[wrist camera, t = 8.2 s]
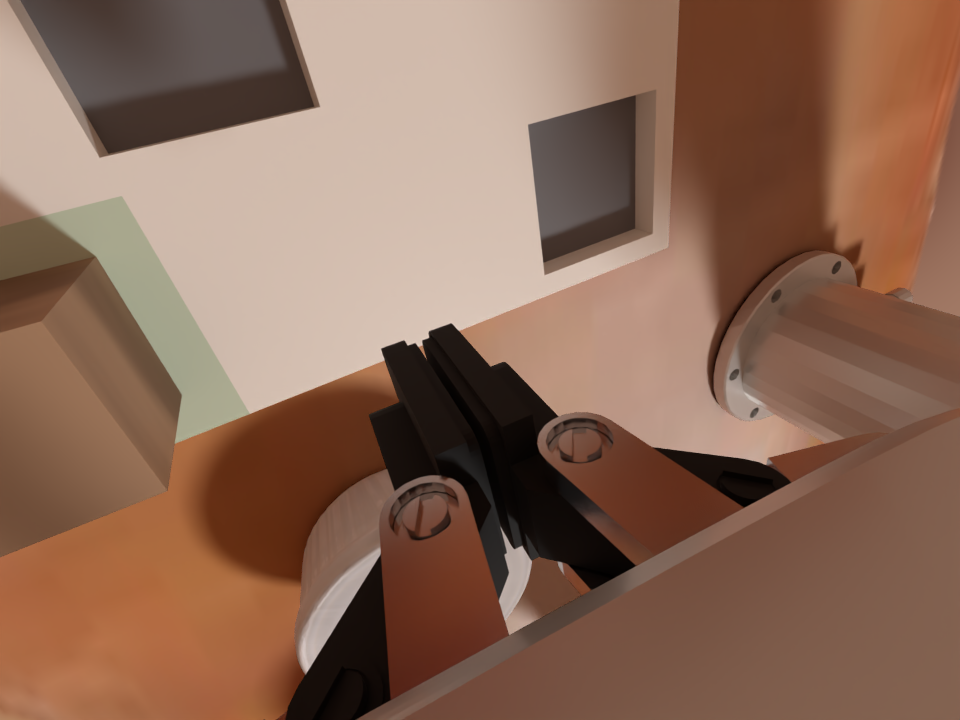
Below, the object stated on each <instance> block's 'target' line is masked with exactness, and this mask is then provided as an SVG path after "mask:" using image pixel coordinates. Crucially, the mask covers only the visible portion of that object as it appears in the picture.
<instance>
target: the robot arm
mask: <svg viewBox="0 0 960 720" xmlns="http://www.w3.org/2000/svg"><path fill="white" fill-rule="evenodd" d="M912 301H913V295H912V293H911V292H910V291H909V290H907V289H905V288H897V289H894V290H892V291H890V292H888V293H886V294H881V293H878V292H874V291H871V290H867V289H864V288H861V287H857V279H856V273H855V270H854V268H853V266H852V264H851V262H849V261H848V260H847V259H846V258H845V257H844V256H841V255H838V254H834V253H831V252H827V251H819V250H815V251H810V252H805V253H803V254H800V255H798V256H796V257H794V258H791V259H790V260H788V261H787V262H785V263H784V264H782V265H781V266H779V267H778V268H776V269H775V270H774V271H773V272H772V273H771V274H770V275H768V276H767V277H766V278H765V279H764V280H763V281H762V282H761V283H760V284H759V285H758V286H757V287H756V289H755V290H754V291H753V292H752V293H751V294H750V295H749V297H748V298H747V299H746V301H745V302H744V304H743V305H742V306H741V308H740V309H739V310H738V312H737V314H736V315H735V317H734V319H733V321H732V322H731V324H730V326H729V328H728V330H727V332H726V334H725V337H724V339H723V341H722V343H721V346H720V349H719V352H718V356H717V359H716V364H715V370H714V392H715V396H716V400H717V401H718V403H719V405H720V406H721V408H722V409H724V410H725V411H726V412H728V413H729V414H731V415H732V416H734V417H736V418H738V419H740V420H743V421H755V420H761V419H764V418H766V417H769V416H772V415H774V414H775V415H777V416H779V417H780V418H782V419H784V420H786V421H787V422H789V423H791V424H793V425H794V426H796V427H798V428H800V429H801V430H803V431H805V432H807V433H808V434H810V435H812V436H814V437H815V438H817V439H819V440H821V441H823V442H824V443H825V444H821V445H817V446H813V447H809V448H806V449H802V450H798V451H794V452H790V453H786V454H782V455H778V456H774V457H770V458H768V460H767V465H764V464H762V463H759V462H755V461H751V460H746V459H740V458H732V457H725V456H717V455H709V454H701V453H693V452H685V451H677V450H670V449H662V448H654V447H651V446H649V445H648V444H646V443H645V442H643V441H642V440H640V439H639V438H637V437H636V436H634V435H633V434H631V433H630V432H628V431H626V430H625V429H623V428H622V427H620V426H619V425H617V424H616V423H614V422H613V421H611V420H609V419H607V418H605V417H603V416H601V415H597V414H593V413H587V412H575V413H570V414H565V415H562V416H559V417H558V416H557V414H556V413H555V412H554V411H553V410H552V409H551V408H550V407H549V406H548V405H547V404H546V403H545V402H544V401H543V400H542V399H541V398H540V397H539V396H538V395H537V394H536V393H535V392H534V391H533V390H532V389H531V388H530V387H529V385H528V384H527V383H526V382H525V381H524V380H523V379H522V378H521V377H520V376H519V375H518V374H517V373H516V372H515V371H514V370H513V369H512V368H511V367H510V366H509V365H508V364H507V363H506V362H502V363H499V364H496V365H494V366H491V367H490V366H489V365H488V363H487V362H486V361H485V360H484V359H483V358H482V357H481V356H480V354H479V353H478V352H477V351H476V350H475V349H474V348H473V346H472V345H471V344H470V343H469V342H468V341H467V340H466V339H465V337H464V336H463V335H462V334H461V333H460V332H459V331H458V330H457V328H456V327H455V326H454V325H453V324H452V323H450V324H448V325H445V326H442V327H439V328H436V329H434V330H431V331H429V333H428V334H429V338H427V339H424V340H422V344H423V348H424V351H425V355H426V358H427V359H426V358H425V356H424V355H423V353H422V352H421V350H420V349H419V347H418V346H417V344H416V343H413V344H411V345H407V344H406V342H405V341H404V340H403V341H400V342H398V343H395V344H392V345H389V346H386V347H384V348H381V351H382V354H383V357H384V360H385V363H386V365H387V368H388V371H389V374H390V377H391V379H392V382H393V385H394V388H395V391H396V394H397V396H398V399H399V403H397V404H394V405H392V406H389V407H387V408H384V409H381V410H379V411H376V412H374V413H371V414H369V417H370V420H371V423H372V426H373V429H374V432H375V435H376V438H377V441H378V444H379V447H380V450H381V453H382V456H383V459H384V462H385V465H386V467H387V470H388V473H389V476H390V479H391V482H392V485H393V488H394V493H393V494H392V495H391V496H390V497H389V498H388V499H387V501H386V502H385V504H384V506H383V508H382V510H381V512H380V519H379V533H380V548H381V554H380V556H379V557H378V559H377V561H376V562H375V564H374V566H373V567H372V569H371V570H370V572H369V574H368V575H367V577H366V578H365V580H364V582H363V583H362V585H361V586H360V588H359V590H358V591H357V593H356V594H355V596H354V598H353V599H352V601H351V602H350V604H349V606H348V607H347V609H346V611H345V612H344V614H343V615H342V617H341V619H340V620H339V622H338V623H337V625H336V627H335V628H334V630H333V631H332V633H331V635H330V636H329V638H328V639H327V641H326V643H325V644H324V646H323V647H322V649H321V651H320V652H319V654H318V655H317V657H316V659H315V660H314V662H313V664H312V665H311V667H310V668H309V670H308V672H307V673H306V675H305V676H304V678H303V680H302V681H301V683H300V684H299V686H298V688H297V690H296V692H295V694H294V696H293V698H292V700H291V702H290V704H289V706H288V710H287V712H285V713H284V714H283V715H282V716H280V717H279V718H278V719H277V720H960V317H959V316H956V315H953V314H949V313H946V312H942V311H939V310H936V309H932V308H929V307H925V306H922V305H918V304H915V303H912ZM501 528H502V530H503V532H504V534H505V535H506V537H507V539H508V541H509V543H510V544H511V546H512V547H513V549H517V548H519V547H521V546H523V548H524V550H525V551H526V553H527V555H528V556H529V558H530V560H531V561H532V560H534V559H535V558H537V557H539V556H540V557H541V558H546V559H550V560H554V561H557V562H558V566H559V568H560V570H561V571H562V573H563V574H564V576H565V577H566V578H567V579H568V580H569V582H570V583H571V584H572V585H573V586H574V587H575V588H576V589H577V591H578V592H579V593H580V594H581V595H582V596H580V597H579V598H577V599H575V600H573V601H571V602H569V603H568V604H566V605H564V606H562V607H560V608H558V609H556V610H555V611H553V612H551V613H549V614H547V615H545V616H544V617H542V618H540V619H538V620H536V621H534V622H533V623H531V624H529V625H527V626H525V627H523V628H522V629H520V630H518V631H516V632H514V633H512V634H511V635H509V633H508V630H507V626H506V623H505V620H504V616H503V613H502V609H501V606H500V603H499V599H500V596H501V594H502V591H503V588H504V586H505V583H506V580H507V578H508V575H509V570H508V566H507V563H506V559H505V554H507V550H506V546H505V542H504V538H503V534H502V531H501ZM264 720H265V719H264Z"/></svg>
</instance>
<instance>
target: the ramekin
mask: <svg viewBox="0 0 960 720" xmlns="http://www.w3.org/2000/svg"><path fill="white" fill-rule="evenodd" d="M393 493H394V488H393V485H392V482H391V479H390V476H389V473H388V470H387V469H385V470H382V471H379V472H377V473H375V474H372V475H370V476H368V477H366V478H364V479H362V480H361V481H359V482H357V483H356V484H354V485H353V486H351V487H350V488H348V489H347V490H346V491H344V492H343V493H342V494H341V495H340V496H339V497H338V498H337V499H335V500H334V501H333V502H332V504H330V505H329V506H328V508H327V509H326V510H325V512H324V513H323V514H322V515H321V516H320V517H319V519H318V521H317V523H316V524H315V526H314V527H313V529H312V531H311V534H310V536H309V538H308V540H307V545H306V547H305V550H304V557H303V565H302V580H301V595H300V608H299V611H298V615H297V619H296V624H295V648H296V654H297V658H298V662H299V664H300V666H301V668H302V670H303V672H304V673H305V675H306V673H307V672H308V670H309V668H310V667H311V665H312V664H313V662H314V660H315V659H316V657H317V655H318V654H319V652H320V651H321V649H322V647H323V646H324V644H325V643H326V641H327V639H328V638H329V636H330V635H331V633H332V631H333V630H334V628H335V627H336V625H337V623H338V622H339V620H340V619H341V617H342V615H343V614H344V612H345V611H346V609H347V607H348V606H349V604H350V602H351V601H352V599H353V598H354V596H355V594H356V593H357V591H358V590H359V588H360V586H361V585H362V583H363V582H364V580H365V578H366V577H367V575H368V574H369V572H370V570H371V569H372V567H373V566H374V564H375V562H376V561H377V559H378V557H379V556H380V554H381V548H380V533H379V519H380V512H381V510H382V508H383V506H384V504H385V502H386V501H387V499H388V498H389V497H390V496H391V495H392V494H393ZM501 531H502V534H503V538H504V542H505V546H506V550H507V554H505V559H506V563H507V566H508V570H509V575H508V578H507V580H506V583H505V586H504V588H503V591H502V594H501V596H500V599H499V603H500V606H501V609H502V613H503V616H504V620H506V619H507V618H508V616H509V615H510V614H511V612H512V611H513V609H514V608H515V606H516V604H517V603H518V601H519V600H520V598H521V596H522V594H523V592H524V590H525V588H526V585H527V582H528V579H529V575H530V571H531V565H532V561H531V560H530V558H529V556H528V555H527V553H526V551H525V550H524V548H523V546H521V547H519V548H517V549H513V547H512V546H511V544H510V543H509V541H508V539H507V537H506V535H505V534H504V532H503V530H502V528H501Z"/></svg>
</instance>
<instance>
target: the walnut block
mask: <svg viewBox="0 0 960 720" xmlns="http://www.w3.org/2000/svg"><path fill="white" fill-rule="evenodd" d="M181 398H182V394H181V393H180V391H179V389H178V388H177V386H176V385H175V383H174V381H173V380H172V378H171V376H170V375H169V373H168V372H167V370H166V368H165V367H164V365H163V364H162V362H161V360H160V359H159V357H158V356H157V354H156V352H155V351H154V349H153V347H152V346H151V344H150V343H149V341H148V339H147V338H146V336H145V335H144V333H143V331H142V330H141V328H140V327H139V325H138V323H137V322H136V320H135V318H134V317H133V315H132V314H131V312H130V310H129V309H128V307H127V306H126V304H125V302H124V301H123V299H122V297H121V296H120V294H119V293H118V291H117V289H116V288H115V286H114V285H113V283H112V281H111V280H110V278H109V277H108V275H107V273H106V272H105V270H104V268H103V267H102V265H101V264H100V262H99V260H98V259H97V257H92V258H88V259H84V260H80V261H76V262H72V263H68V264H64V265H60V266H56V267H52V268H48V269H44V270H40V271H36V272H32V273H28V274H24V275H20V276H16V277H12V278H8V279H4V280H0V557H2V556H4V555H7V554H9V553H12V552H14V551H17V550H19V549H22V548H25V547H27V546H30V545H32V544H35V543H37V542H40V541H42V540H45V539H47V538H50V537H52V536H55V535H57V534H60V533H62V532H65V531H68V530H70V529H73V528H75V527H78V526H80V525H83V524H85V523H88V522H90V521H93V520H95V519H98V518H100V517H103V516H105V515H108V514H110V513H113V512H116V511H118V510H121V509H123V508H126V507H128V506H131V505H133V504H136V503H138V502H141V501H143V500H146V499H148V498H151V497H153V496H156V495H158V494H161V493H164V492H166V491H168V485H169V478H170V472H171V465H172V458H173V452H174V445H175V438H176V432H177V425H178V418H179V412H180V405H181Z"/></svg>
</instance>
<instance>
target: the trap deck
mask: <svg viewBox="0 0 960 720" xmlns="http://www.w3.org/2000/svg"><path fill="white" fill-rule="evenodd" d="M678 23H679V0H0V280H4V279H8V278H12V277H16V276H20V275H24V274H28V273H32V272H36V271H40V270H44V269H48V268H52V267H56V266H60V265H64V264H68V263H72V262H76V261H80V260H84V259H88V258H92V257H97V259H98V260H99V262H100V264H101V265H102V267H103V268H104V270H105V272H106V273H107V275H108V277H109V278H110V280H111V281H112V283H113V285H114V286H115V288H116V289H117V291H118V293H119V294H120V296H121V297H122V299H123V301H124V302H125V304H126V306H127V307H128V309H129V310H130V312H131V314H132V315H133V317H134V318H135V320H136V322H137V323H138V325H139V327H140V328H141V330H142V331H143V333H144V335H145V336H146V338H147V339H148V341H149V343H150V344H151V346H152V347H153V349H154V351H155V352H156V354H157V356H158V357H159V359H160V360H161V362H162V364H163V365H164V367H165V368H166V370H167V372H168V373H169V375H170V376H171V378H172V380H173V381H174V383H175V385H176V386H177V388H178V389H179V391H180V393H181V394H182V398H181V405H180V412H179V418H178V425H177V432H176V438H175V443H178V442H180V441H183V440H185V439H188V438H190V437H193V436H195V435H198V434H200V433H203V432H205V431H208V430H210V429H213V428H215V427H218V426H220V425H223V424H225V423H228V422H230V421H233V420H235V419H238V418H240V417H243V416H246V415H248V414H251V413H253V412H256V411H258V410H261V409H263V408H266V407H268V406H271V405H273V404H276V403H278V402H281V401H283V400H286V399H288V398H291V397H293V396H296V395H298V394H301V393H303V392H306V391H309V390H311V389H314V388H316V387H319V386H321V385H324V384H326V383H329V382H331V381H334V380H336V379H339V378H341V377H344V376H346V375H349V374H351V373H354V372H356V371H359V370H361V369H364V368H366V367H369V366H371V365H374V364H377V363H379V362H382V361H384V357H383V354H382V351H381V348H384V347H386V346H389V345H392V344H395V343H398V342H400V341H403V340H404V341H405V342H406V344H407V345H411V344H413V343H416V344H417V346H418V347H419V346H422V345H423V344H422V340H424V339H427V338H429V334H428V333H429V331H431V330H434V329H436V328H439V327H442V326H445V325H448V324H450V323H452V324H453V325H454V326H455V327H456V328H457V330H458V331H460V330H462V329H465V328H467V327H470V326H472V325H475V324H477V323H480V322H482V321H485V320H487V319H490V318H492V317H495V316H497V315H500V314H502V313H505V312H508V311H510V310H513V309H515V308H518V307H520V306H523V305H525V304H528V303H530V302H533V301H535V300H538V299H540V298H543V297H545V296H548V295H550V294H553V293H555V292H558V291H560V290H563V289H565V288H568V287H570V286H573V285H576V284H578V283H581V282H583V281H586V280H588V279H591V278H593V277H596V276H598V275H601V274H603V273H606V272H608V271H611V270H613V269H616V268H618V267H621V266H623V265H626V264H628V263H631V262H633V261H636V260H638V259H641V258H644V257H646V256H649V255H651V254H654V253H656V252H659V251H661V250H664V249H666V248H668V245H669V223H670V201H671V178H672V156H673V134H674V112H675V89H676V67H677V45H678Z"/></svg>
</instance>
